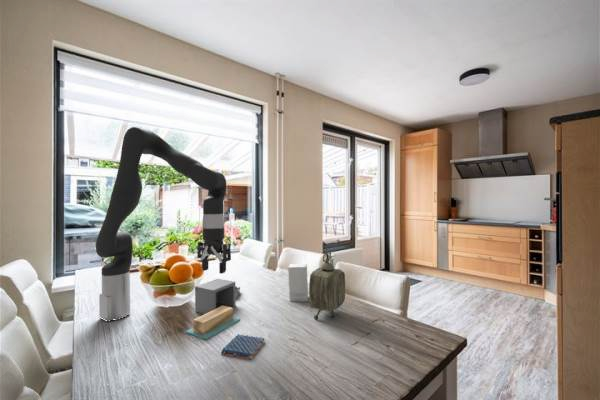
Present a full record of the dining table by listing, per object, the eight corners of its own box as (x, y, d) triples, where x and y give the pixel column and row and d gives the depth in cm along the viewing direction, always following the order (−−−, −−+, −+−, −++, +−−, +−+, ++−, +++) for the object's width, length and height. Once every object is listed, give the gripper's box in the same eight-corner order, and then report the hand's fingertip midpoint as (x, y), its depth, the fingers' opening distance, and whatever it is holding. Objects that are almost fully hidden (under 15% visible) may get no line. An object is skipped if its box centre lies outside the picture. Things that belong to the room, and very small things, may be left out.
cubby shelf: (213, 316, 105) (213, 290, 105) (195, 311, 110) (195, 286, 110) (235, 305, 116) (235, 281, 116) (218, 301, 121) (217, 278, 121)
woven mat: (266, 343, 86) (266, 336, 86) (251, 362, 76) (251, 355, 76) (237, 338, 89) (237, 332, 89) (219, 356, 79) (219, 349, 79)
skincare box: (308, 297, 125) (307, 263, 125) (307, 302, 118) (306, 266, 119) (290, 296, 126) (290, 263, 126) (288, 301, 119) (288, 266, 119)
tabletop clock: (326, 307, 113) (325, 247, 113) (346, 311, 108) (345, 249, 108) (309, 320, 100) (308, 253, 100) (331, 326, 96) (330, 255, 96)
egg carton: (236, 300, 123) (235, 291, 123) (219, 300, 123) (219, 291, 123) (241, 292, 133) (241, 284, 133) (226, 292, 134) (226, 284, 134)
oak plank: (232, 318, 102) (232, 307, 102) (203, 334, 89) (203, 322, 89) (223, 315, 104) (223, 305, 104) (193, 331, 92) (193, 319, 92)
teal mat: (206, 339, 87) (206, 337, 87) (186, 332, 92) (186, 330, 92) (240, 320, 101) (240, 318, 101) (220, 315, 106) (220, 313, 106)
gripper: (191, 226, 97) (191, 271, 97) (220, 228, 90) (220, 276, 90) (207, 224, 104) (208, 267, 104) (235, 226, 97) (236, 271, 97)
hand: (213, 271), depth 97 cm, fingers open, 8 cm apart
